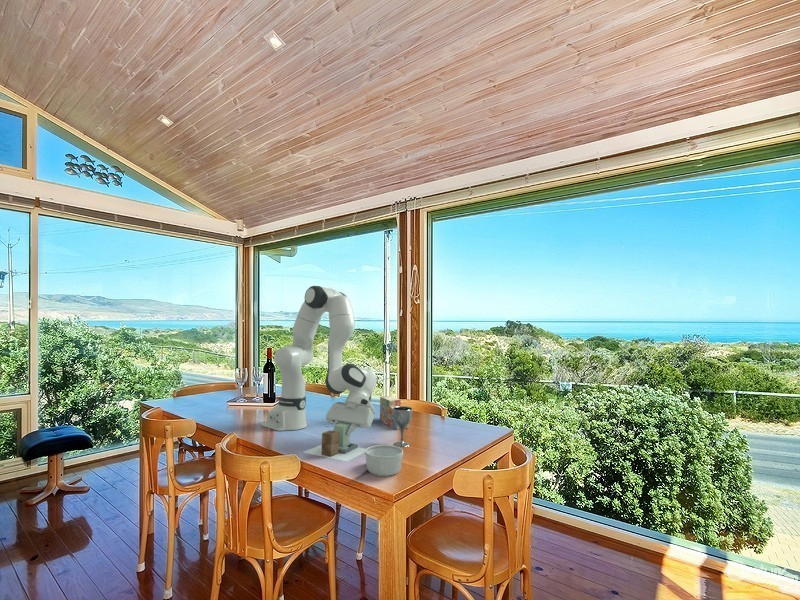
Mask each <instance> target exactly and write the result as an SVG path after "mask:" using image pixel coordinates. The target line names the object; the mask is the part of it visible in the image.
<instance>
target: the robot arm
mask: <svg viewBox="0 0 800 600" xmlns="http://www.w3.org/2000/svg"><path fill="white" fill-rule="evenodd" d="M325 313H328V321H329V324H328V325H329V334H328V335H329V336H328V345H327V373H326V376H325V383H324V384H325V387H326V390H328V391H329V392H330V393H331V394H333V395H340V394H344V392H346V391H347V390H348V391H349V392H348V395H347V397H346V399H345V400H344V402H343V401H342V402H340V401H337V402H335V403H333V404H332V406H331V407H330V408H329V410H327V413H326V415H325V419H326V421H327V422H328V423H331V424H333V426H334V425H336V424H339V423H346V424H350V429H347V430H346V432H345V434H346V435H347V436H350V437H351V435H352V433H353V432H354V431H355V430H357V428H360V429H361V428H362V429H366V430H367V429H369V428H370V427H371V426H372V424H373V420H374V418H375V416H374V414H375V413H376V409H375V406H374V405H373V404H372V401H371V402H370V401H369V397H370V396H371V397H372V394H373V392H374V390H375V388H376V385H377V381H378V378H377V374H376V373H375V372H374V371H373V370H372V369H369V368H361V367H359V366H357V365H356V364H353V363H346V364H344V365H343V349H344V347H346V344H347V343H348V341H349V340H350V338H351V337H352V336H353V334H354V332H355V328H356V327H355V326H356V325H355V324H356V323H355V315H354V311H353V307H352V302H351V300H350V299H349V297H348V296H347V295H346V294H345V293H344V292H341V291H337V290H335V289H332V288H329V287H328V288H327V287H322V286H320V285H311V286H309V287H308V289H306V291H305V293H304V301H303V303H302V304H301V306H300V307H299V310H298V313H297V316H296V318H295V320H294V324H293V327H292V330H291V333H292V337H293V338H292V341H291V342H292V343H291V345H285V346H281V348H278V349H277V350H276V351H275V354H274V355H273V356H274V357H273V359H274V360H273V361H274V363H275V365H276V366H277V368H278V370H279V374H280V377H281V395H280V397H278V398H276V401H278V402H277V403H278V404H277V405H276V406H274V407H273V408H272V409H271V410H269V411H268V412H267V415H266V419H265V421H263V422H261V423H260V426H262V427H263V428H264V427H265V428H268V429H270V430H275V431H278V432H280V431H296V430H297V431H298V430H302V429H304V428H307V427H308V421H307V416H306V403H307V399H306V398H307V397H306V379H305V377H304V375H303V372H302V371H303V370H302V367H305V366H307V365H308V364H309V363H311V362H312V360H313V359H314V350H313V346H314V339H315V336H316V333H317V331H318V328H319V324H320V322H321V318H322V317H323V314H325ZM332 431H334V428H333V429H332Z"/></svg>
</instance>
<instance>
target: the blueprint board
mask: <svg viewBox="0 0 800 600" xmlns="http://www.w3.org/2000/svg"><path fill="white" fill-rule="evenodd" d="M366 449H367V448H365V447H364V448H363V447H360V446H358V444H357V443H352V442H350V445H348V446H346V447H344V448H342V447H339V450H338V454H336V455H334V456H332V457H329V456H325V455H321V451H322V444H320V445H317V446H315V447H313V448H312V447H311V448H310V449H307V450H305V451H302V453H305V454H308V455H313V456H318V457H323V458H328V459H332V460H337V461H341V462H342V461H343V462H349V461H351V460H353V459H355V458H357V457H359V456H361V455H362V454H365V450H366Z"/></svg>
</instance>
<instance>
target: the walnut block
mask: <svg viewBox="0 0 800 600" xmlns="http://www.w3.org/2000/svg"><path fill="white" fill-rule="evenodd" d="M321 445H322V451H321V455H325V456H329V457H332V456H334V455H336V454H338V450H339V432H336V431H333V430H330V429H329V430H326V431H324V432H322V433H321Z"/></svg>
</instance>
